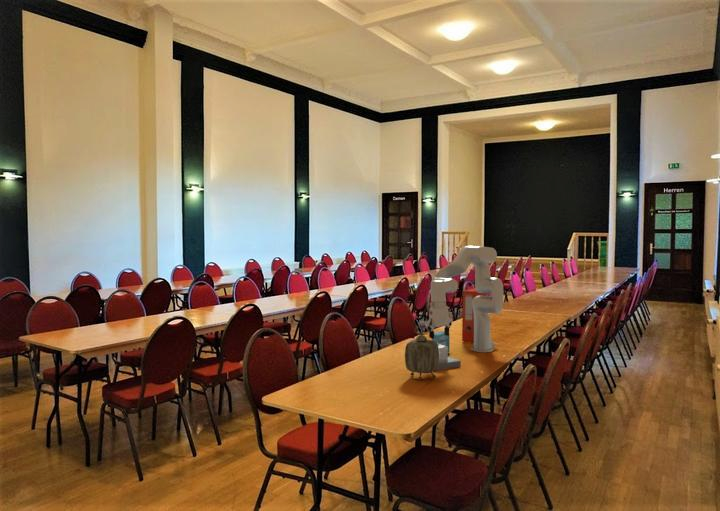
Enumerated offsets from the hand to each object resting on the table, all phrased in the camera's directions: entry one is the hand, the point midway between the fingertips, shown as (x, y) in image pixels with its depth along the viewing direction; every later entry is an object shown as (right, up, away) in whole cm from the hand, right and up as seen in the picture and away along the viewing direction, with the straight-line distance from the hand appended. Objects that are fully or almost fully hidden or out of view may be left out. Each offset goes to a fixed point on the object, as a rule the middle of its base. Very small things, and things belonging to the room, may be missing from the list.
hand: (439, 336), depth 271 cm
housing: (0, -12, 0) cm, 11 cm away
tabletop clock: (-12, -16, -25) cm, 32 cm away
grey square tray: (-1, -15, 0) cm, 15 cm away
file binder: (+31, -12, +59) cm, 68 cm away
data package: (+4, -14, +24) cm, 28 cm away
